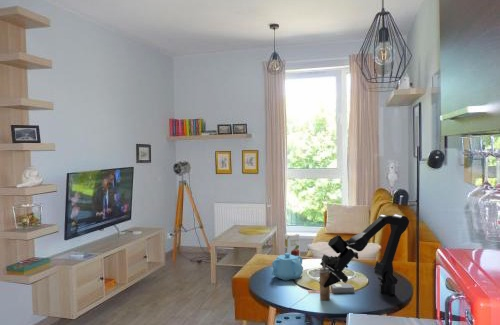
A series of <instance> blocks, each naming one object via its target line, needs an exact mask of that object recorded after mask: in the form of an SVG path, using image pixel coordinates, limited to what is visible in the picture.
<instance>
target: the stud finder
mask: <svg viewBox="0 0 500 325" xmlns="http://www.w3.org/2000/svg"><path fill="white" fill-rule="evenodd" d="M330 290H332V291H333V293H332V294H347V293H351V294H352V293H355V287H354V285H353V284H351V283H347V282H346V283H335V284H333V285H330Z"/></svg>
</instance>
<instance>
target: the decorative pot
mask: <svg viewBox="0 0 500 325" xmlns="http://www.w3.org/2000/svg"><path fill="white" fill-rule="evenodd" d="M298 258H300V261H299V259H298ZM302 264H303V258H302V257H301V255H300V256H294V255H290V253H285V252H284V254H279V255H278V256H277V257H276V259H274V260H272V264H271V265H272V266H271V267H272V271H271V275H272V276H275V277H276V278H278V279H280V280H283V281H284V282H288V281H289V280H297V279H296V278H298V279H299V278H301V276H302V274H303V271H304V267H303V265H302Z"/></svg>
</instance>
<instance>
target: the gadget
mask: <svg viewBox="0 0 500 325" xmlns="http://www.w3.org/2000/svg"><path fill="white" fill-rule="evenodd" d="M319 269H320V268H315V269H314V270H313V272H312V273H311V275H310V276H313V277H320V270H319ZM309 279H310V277H309Z"/></svg>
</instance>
